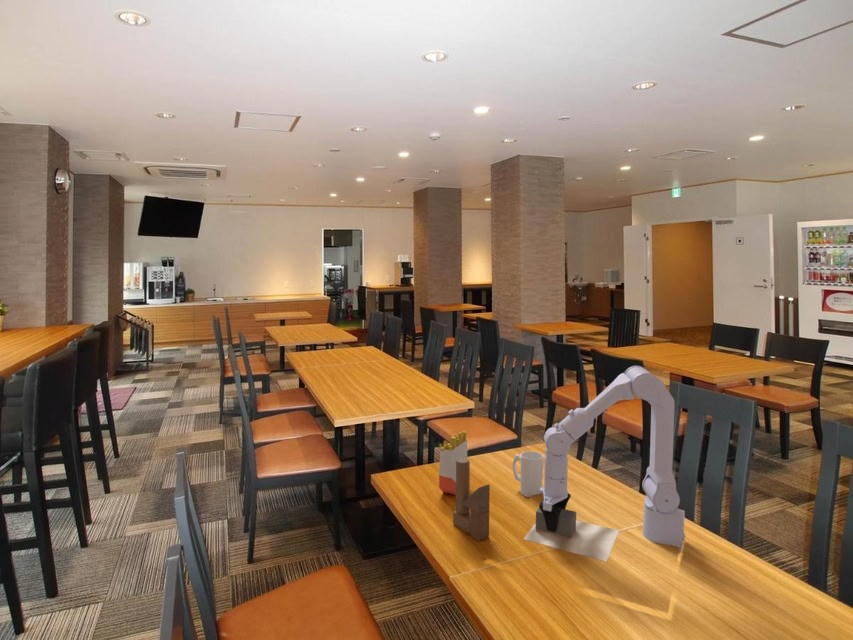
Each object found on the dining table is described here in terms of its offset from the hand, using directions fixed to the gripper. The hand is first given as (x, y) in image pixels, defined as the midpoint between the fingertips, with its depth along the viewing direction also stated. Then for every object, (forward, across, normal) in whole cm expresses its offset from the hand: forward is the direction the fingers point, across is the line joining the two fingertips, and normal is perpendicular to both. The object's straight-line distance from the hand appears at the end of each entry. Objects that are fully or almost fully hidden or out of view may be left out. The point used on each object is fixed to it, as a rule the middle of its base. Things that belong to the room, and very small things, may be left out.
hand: (554, 525), depth 134 cm
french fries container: (+2, -10, -34) cm, 36 cm away
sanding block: (+1, 0, 0) cm, 1 cm away
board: (+2, 0, +4) cm, 5 cm away
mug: (+2, -20, -14) cm, 25 cm away
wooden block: (+2, +9, -20) cm, 22 cm away
